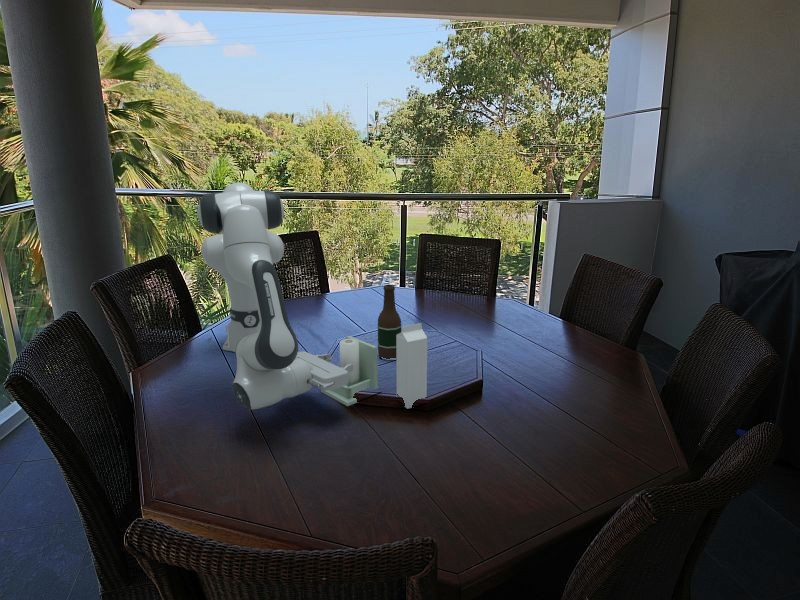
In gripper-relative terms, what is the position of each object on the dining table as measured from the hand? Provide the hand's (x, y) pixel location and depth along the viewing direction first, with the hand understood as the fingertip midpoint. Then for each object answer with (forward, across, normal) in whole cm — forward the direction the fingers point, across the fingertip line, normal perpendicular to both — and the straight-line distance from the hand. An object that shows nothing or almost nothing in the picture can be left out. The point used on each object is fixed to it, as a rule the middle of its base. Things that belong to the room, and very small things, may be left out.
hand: (340, 361), depth 145 cm
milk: (+11, -16, +10) cm, 22 cm away
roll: (+3, 0, +9) cm, 10 cm away
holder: (+3, 0, +10) cm, 11 cm away
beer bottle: (+29, +12, +10) cm, 33 cm away
